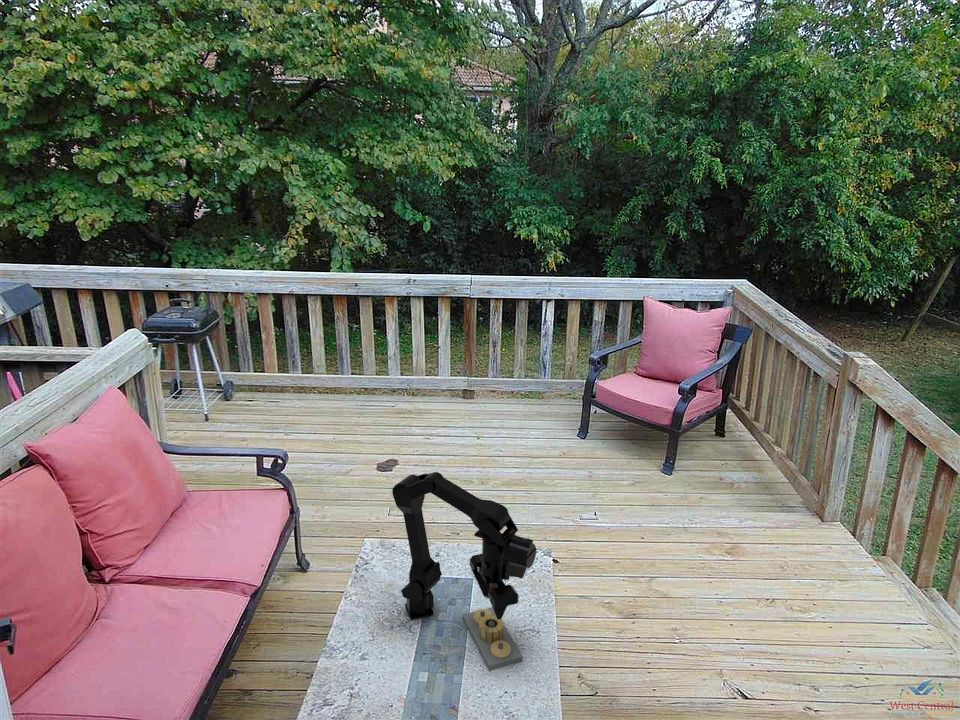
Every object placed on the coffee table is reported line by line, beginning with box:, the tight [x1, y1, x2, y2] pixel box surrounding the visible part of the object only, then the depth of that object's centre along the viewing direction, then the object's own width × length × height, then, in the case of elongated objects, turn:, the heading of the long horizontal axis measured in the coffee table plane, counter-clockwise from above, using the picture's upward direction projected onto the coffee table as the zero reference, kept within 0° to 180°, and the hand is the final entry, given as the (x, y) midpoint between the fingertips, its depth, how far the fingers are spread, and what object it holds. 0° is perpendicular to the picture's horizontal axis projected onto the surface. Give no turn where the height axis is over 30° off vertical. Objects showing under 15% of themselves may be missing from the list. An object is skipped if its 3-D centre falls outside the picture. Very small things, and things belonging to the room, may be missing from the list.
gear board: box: [461, 606, 524, 672], centre depth 168 cm, size 9×20×6 cm, turn 21°
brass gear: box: [478, 615, 505, 644], centre depth 168 cm, size 6×6×4 cm
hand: (492, 607), depth 166 cm, fingers open, 9 cm apart
